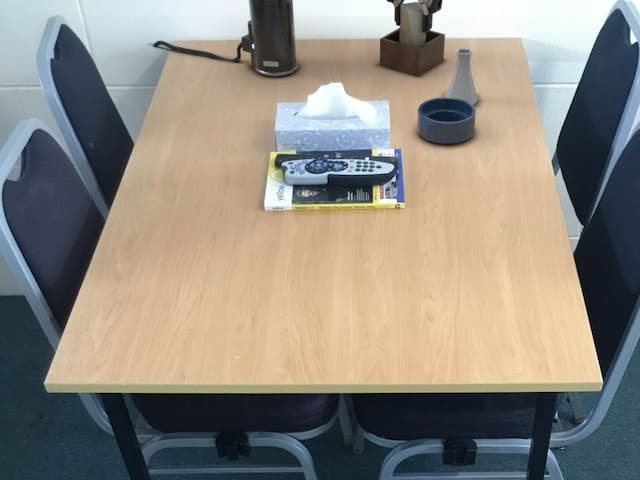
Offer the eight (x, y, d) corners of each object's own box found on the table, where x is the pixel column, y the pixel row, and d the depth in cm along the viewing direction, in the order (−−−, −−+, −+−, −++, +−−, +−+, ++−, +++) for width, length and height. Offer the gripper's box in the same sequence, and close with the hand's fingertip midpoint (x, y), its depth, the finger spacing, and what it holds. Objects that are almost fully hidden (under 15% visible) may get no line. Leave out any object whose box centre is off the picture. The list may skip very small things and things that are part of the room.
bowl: (406, 135, 170) (407, 113, 167) (436, 114, 176) (438, 92, 173) (454, 151, 166) (456, 128, 163) (484, 129, 172) (486, 106, 169)
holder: (379, 65, 192) (379, 38, 188) (405, 49, 198) (406, 23, 194) (418, 76, 188) (419, 49, 184) (443, 60, 194) (445, 34, 190)
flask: (478, 93, 183) (482, 44, 175) (477, 109, 178) (482, 58, 171) (444, 92, 183) (447, 42, 176) (442, 107, 179) (445, 57, 171)
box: (398, 56, 194) (399, 3, 186) (415, 53, 195) (417, 0, 187) (408, 65, 191) (409, 11, 182) (425, 62, 192) (427, 8, 184)
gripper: (455, -58, 175) (449, 30, 187) (396, -71, 180) (395, 15, 193) (435, -48, 171) (431, 41, 183) (376, -61, 176) (376, 26, 189)
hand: (412, 28), depth 188 cm, fingers closed on box, 6 cm apart
